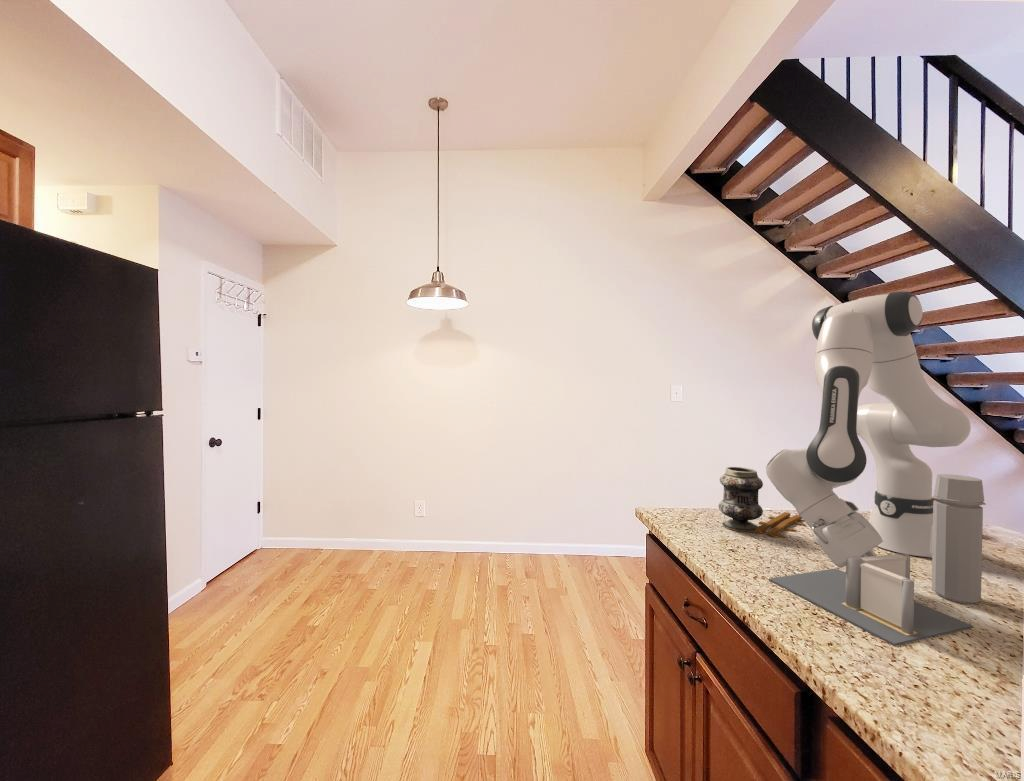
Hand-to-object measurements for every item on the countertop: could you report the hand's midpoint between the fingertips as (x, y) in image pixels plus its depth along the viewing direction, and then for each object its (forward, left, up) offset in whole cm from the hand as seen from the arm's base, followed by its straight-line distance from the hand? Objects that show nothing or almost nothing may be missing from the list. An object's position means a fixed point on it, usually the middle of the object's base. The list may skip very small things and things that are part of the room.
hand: (882, 575), depth 88 cm
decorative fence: (-19, -42, -6) cm, 46 cm away
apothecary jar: (-7, -44, -5) cm, 45 cm away
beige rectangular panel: (+2, +2, -4) cm, 5 cm away
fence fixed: (+9, +5, -5) cm, 12 cm away
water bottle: (-17, +3, -5) cm, 18 cm away
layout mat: (+5, 0, -5) cm, 7 cm away
